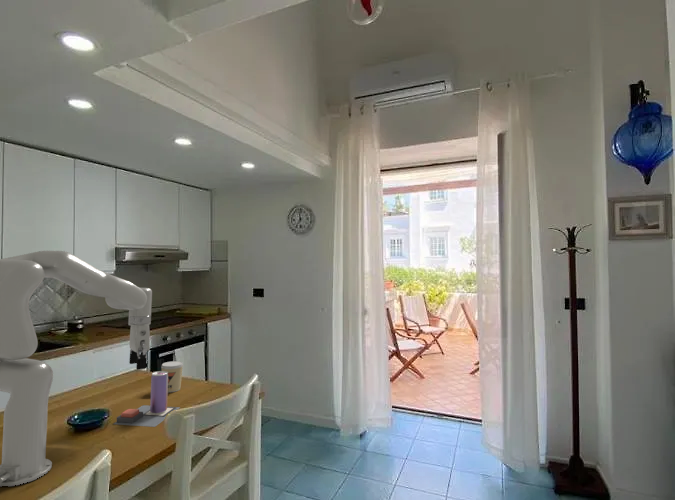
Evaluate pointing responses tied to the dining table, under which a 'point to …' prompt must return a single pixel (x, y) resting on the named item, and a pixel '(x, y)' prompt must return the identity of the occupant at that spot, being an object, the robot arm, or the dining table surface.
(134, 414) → the button
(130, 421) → the picture board
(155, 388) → the beverage can
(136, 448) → the dining table surface
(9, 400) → the robot arm
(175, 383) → the coffee cup
